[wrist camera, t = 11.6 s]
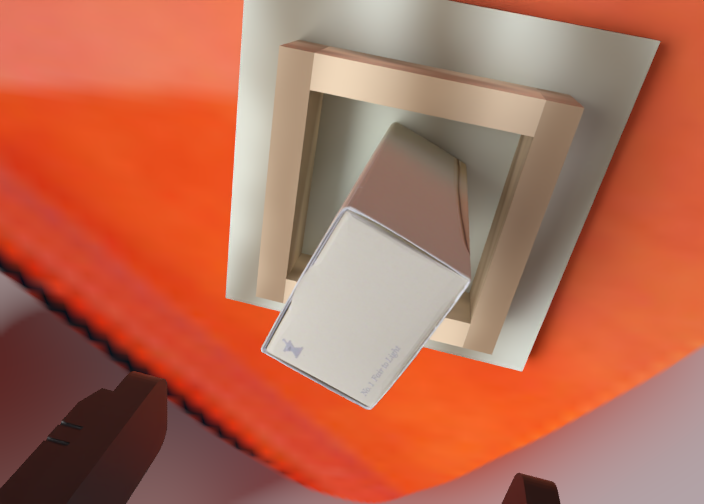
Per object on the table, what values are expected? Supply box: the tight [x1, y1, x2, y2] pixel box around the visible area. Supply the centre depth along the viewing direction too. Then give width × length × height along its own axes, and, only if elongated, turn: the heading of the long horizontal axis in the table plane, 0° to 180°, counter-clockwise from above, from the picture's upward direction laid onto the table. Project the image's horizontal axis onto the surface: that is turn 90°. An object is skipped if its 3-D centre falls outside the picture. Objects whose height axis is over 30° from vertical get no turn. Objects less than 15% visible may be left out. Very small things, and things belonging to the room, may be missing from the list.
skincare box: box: [261, 122, 471, 410], centre depth 21 cm, size 6×4×12 cm
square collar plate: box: [226, 0, 660, 371], centre depth 26 cm, size 18×18×4 cm
